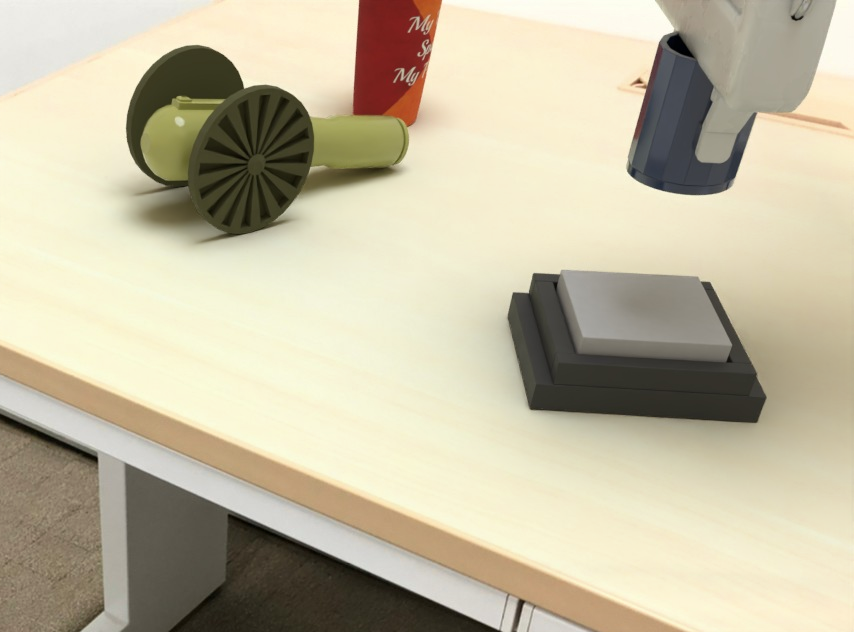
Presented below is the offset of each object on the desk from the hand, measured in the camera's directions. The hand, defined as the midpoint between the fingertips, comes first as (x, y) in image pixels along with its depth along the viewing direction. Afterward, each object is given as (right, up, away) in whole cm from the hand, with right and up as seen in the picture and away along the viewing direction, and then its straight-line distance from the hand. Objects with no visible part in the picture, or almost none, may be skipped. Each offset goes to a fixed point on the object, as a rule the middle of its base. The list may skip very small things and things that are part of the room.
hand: (692, 132), depth 74 cm
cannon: (-21, +5, +31) cm, 38 cm away
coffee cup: (-9, +16, +44) cm, 47 cm away
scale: (0, -12, +10) cm, 16 cm away
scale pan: (0, -10, +8) cm, 13 cm away
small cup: (0, -2, +2) cm, 3 cm away
